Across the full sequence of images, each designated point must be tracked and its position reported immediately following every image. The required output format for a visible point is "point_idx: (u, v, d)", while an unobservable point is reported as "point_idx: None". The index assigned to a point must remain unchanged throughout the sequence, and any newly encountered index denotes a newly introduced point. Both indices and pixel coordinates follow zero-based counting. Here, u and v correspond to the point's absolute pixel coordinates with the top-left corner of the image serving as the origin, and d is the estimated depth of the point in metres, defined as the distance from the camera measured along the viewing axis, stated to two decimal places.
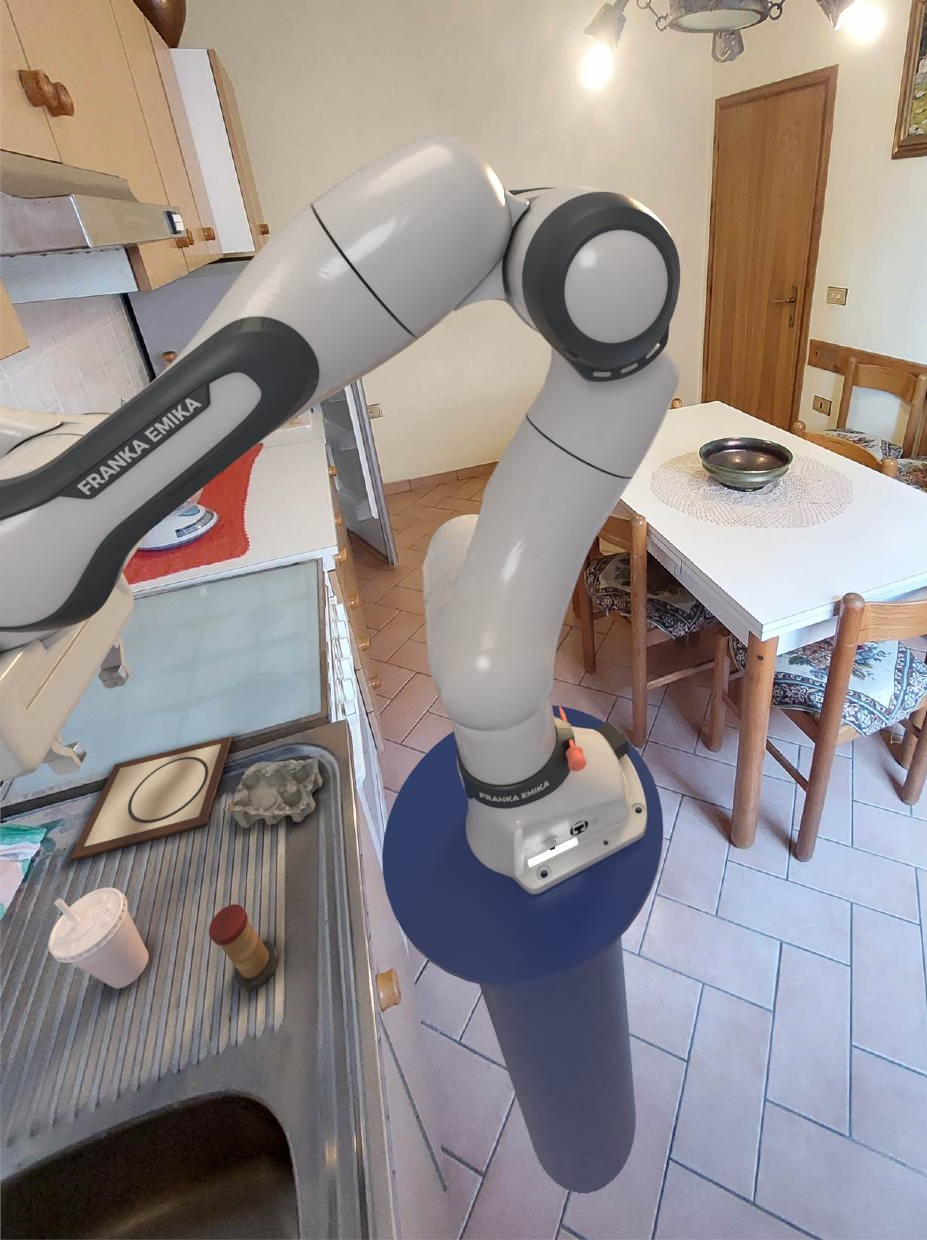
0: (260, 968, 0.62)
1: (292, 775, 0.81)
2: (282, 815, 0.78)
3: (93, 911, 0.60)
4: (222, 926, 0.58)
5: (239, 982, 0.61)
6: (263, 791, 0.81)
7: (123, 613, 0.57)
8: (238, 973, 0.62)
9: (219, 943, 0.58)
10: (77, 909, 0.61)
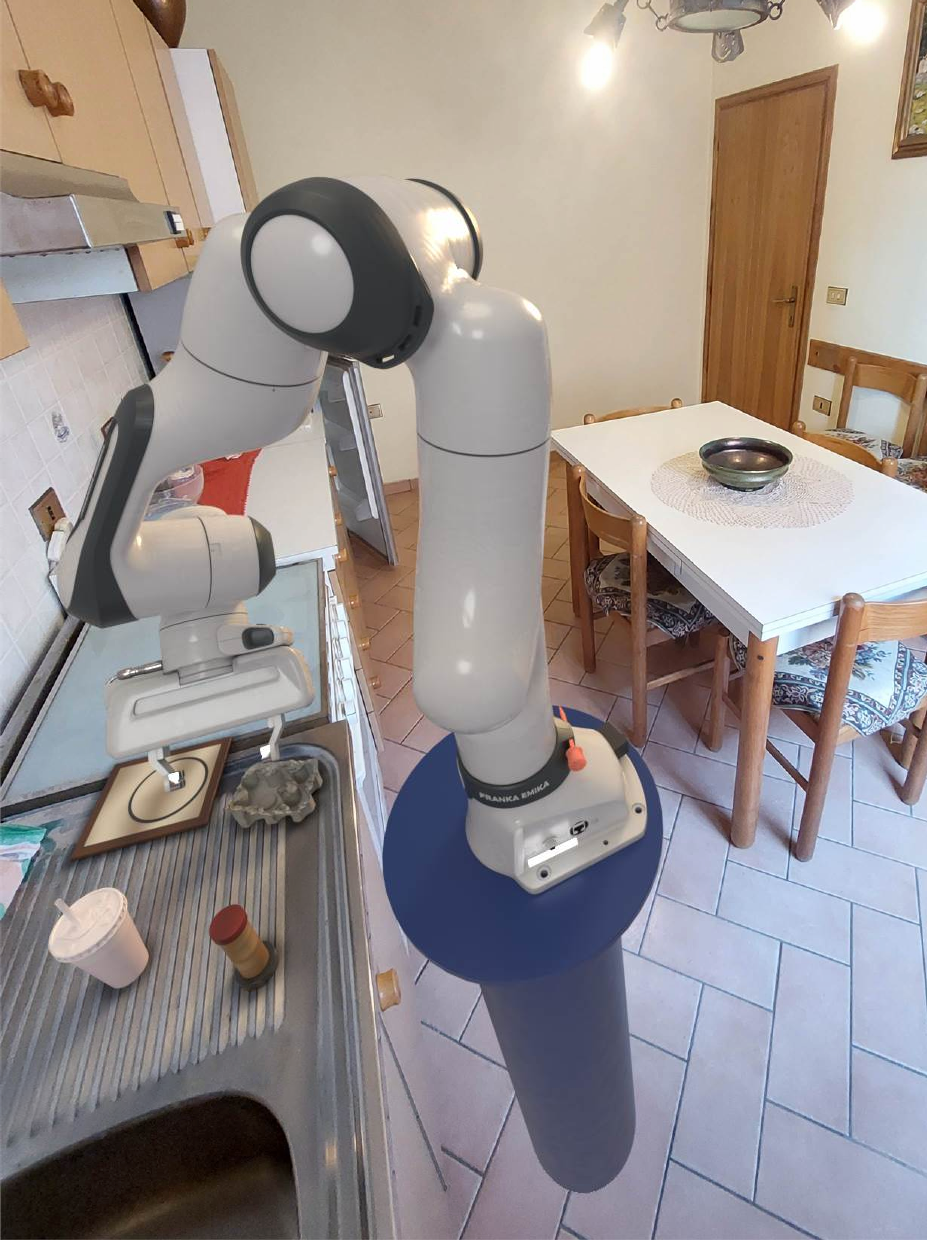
0: (260, 968, 0.62)
1: (292, 775, 0.81)
2: (282, 815, 0.78)
3: (93, 911, 0.60)
4: (222, 926, 0.58)
5: (239, 982, 0.61)
6: (263, 791, 0.81)
7: (284, 701, 0.67)
8: (238, 973, 0.62)
9: (219, 943, 0.58)
10: (77, 909, 0.61)
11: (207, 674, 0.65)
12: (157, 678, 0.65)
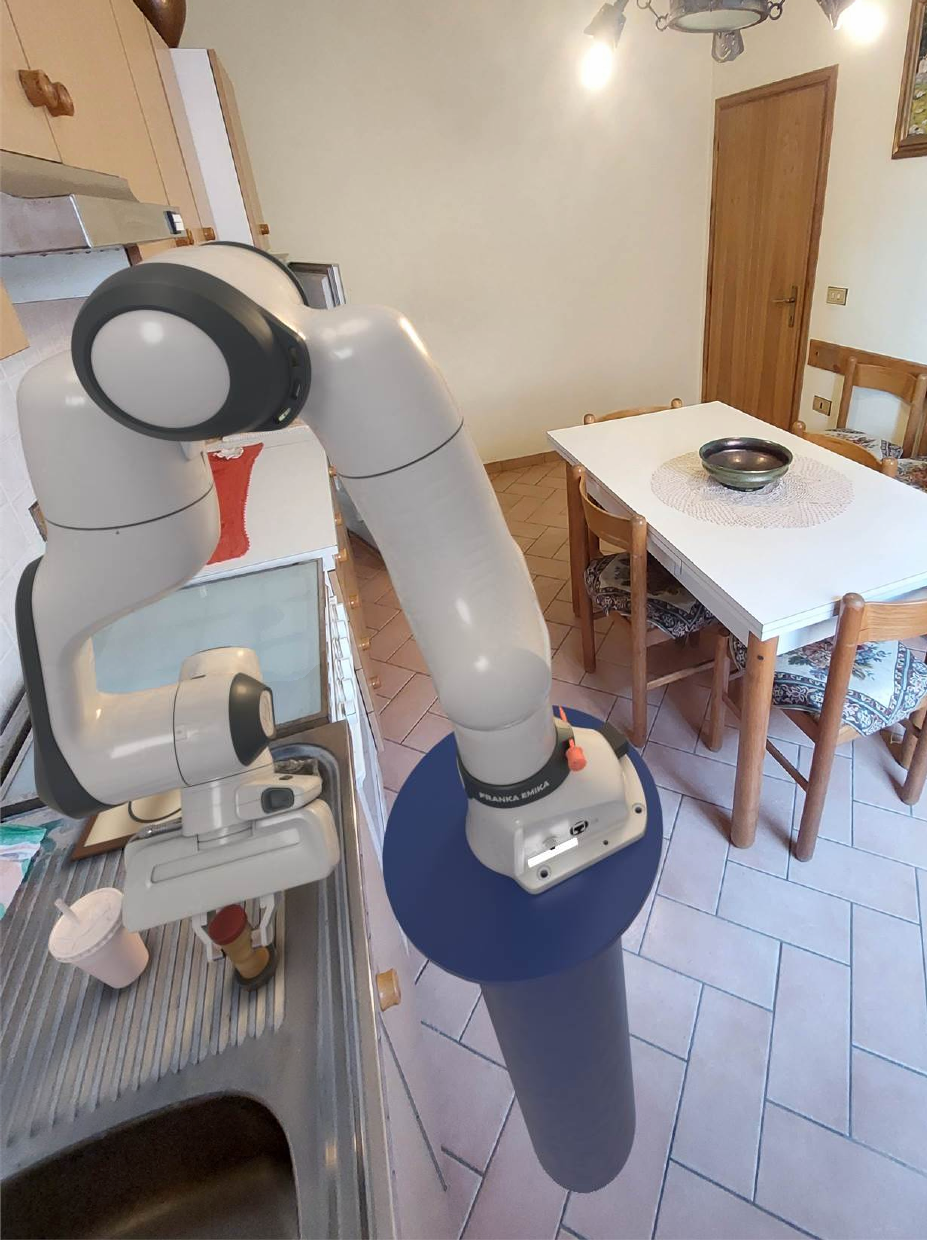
0: (260, 968, 0.62)
1: None
2: None
3: (93, 911, 0.60)
4: (222, 926, 0.58)
5: (239, 982, 0.61)
6: None
7: (304, 871, 0.61)
8: (238, 973, 0.62)
9: (219, 943, 0.58)
10: (77, 909, 0.61)
11: (224, 841, 0.60)
12: (176, 841, 0.61)
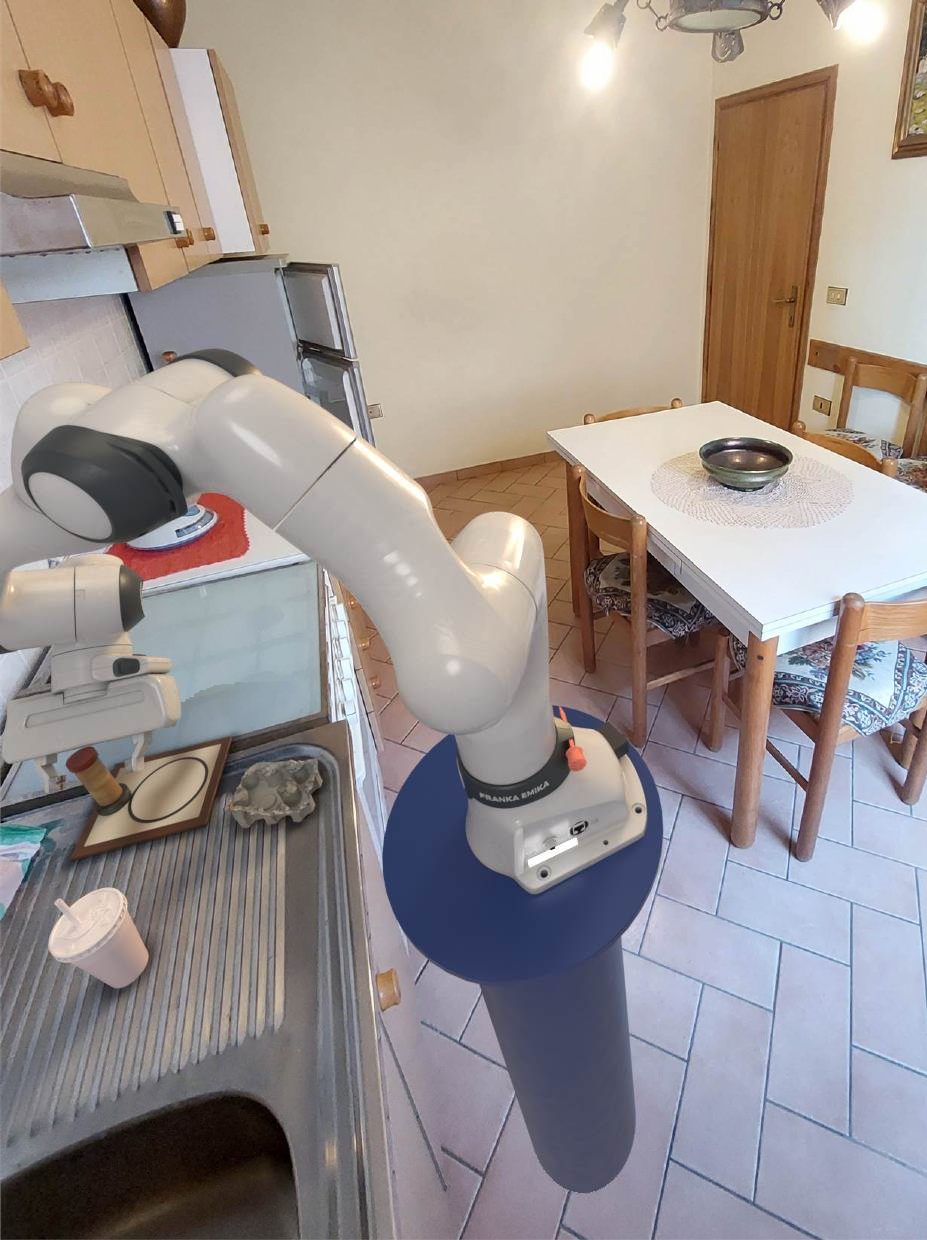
0: (112, 799, 0.80)
1: (292, 775, 0.81)
2: (282, 815, 0.78)
3: (93, 911, 0.60)
4: (76, 760, 0.76)
5: (96, 809, 0.79)
6: (263, 791, 0.81)
7: (145, 721, 0.79)
8: (96, 803, 0.80)
9: (72, 771, 0.76)
10: (77, 909, 0.61)
11: (82, 696, 0.78)
12: (46, 698, 0.79)
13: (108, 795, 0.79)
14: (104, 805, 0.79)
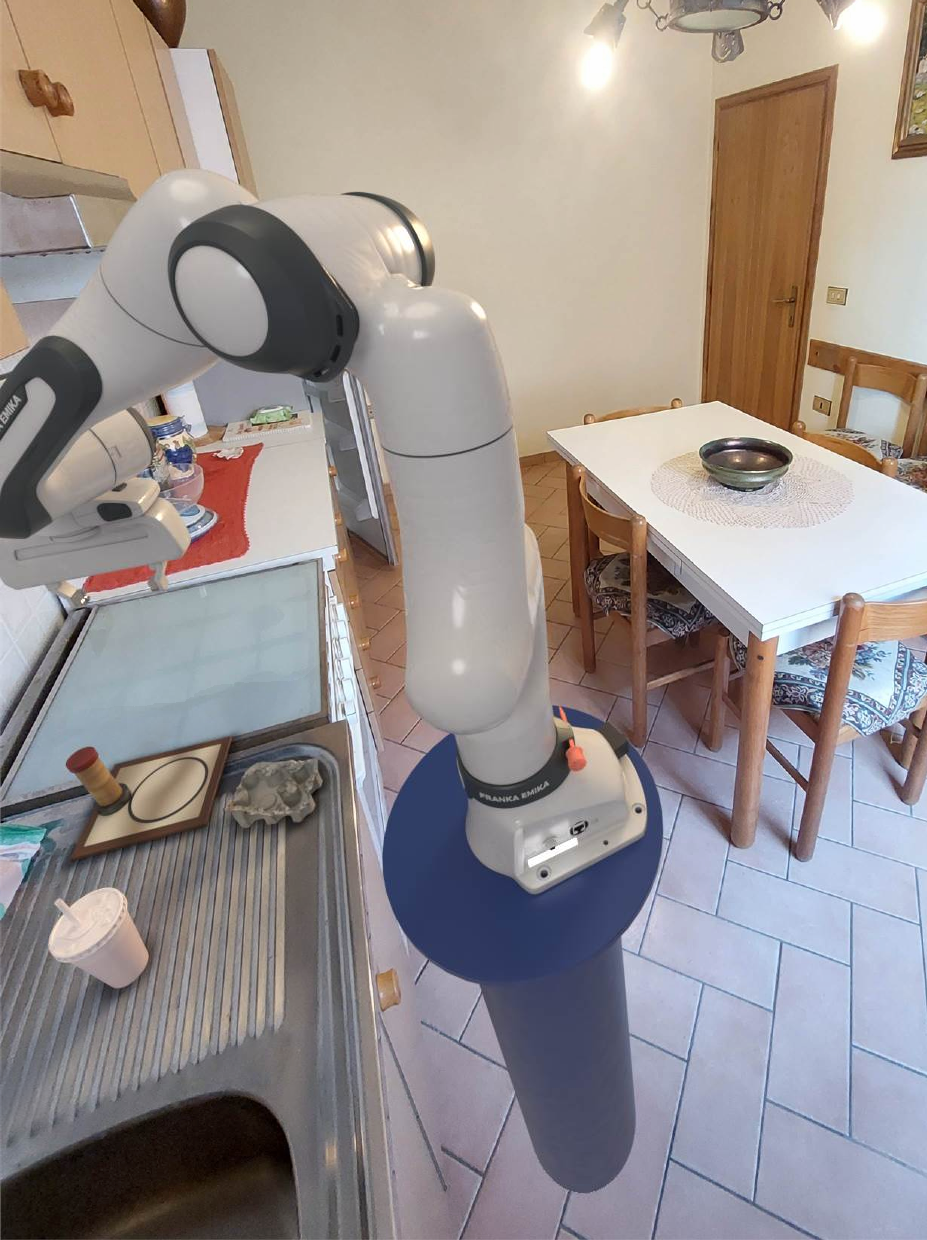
0: (112, 799, 0.80)
1: (292, 775, 0.81)
2: (282, 815, 0.78)
3: (93, 911, 0.60)
4: (76, 760, 0.76)
5: (96, 809, 0.79)
6: (263, 791, 0.81)
7: (158, 555, 0.75)
8: (96, 803, 0.80)
9: (72, 771, 0.76)
10: (77, 909, 0.61)
11: (74, 539, 0.70)
12: None
13: (108, 795, 0.79)
14: (104, 805, 0.79)
